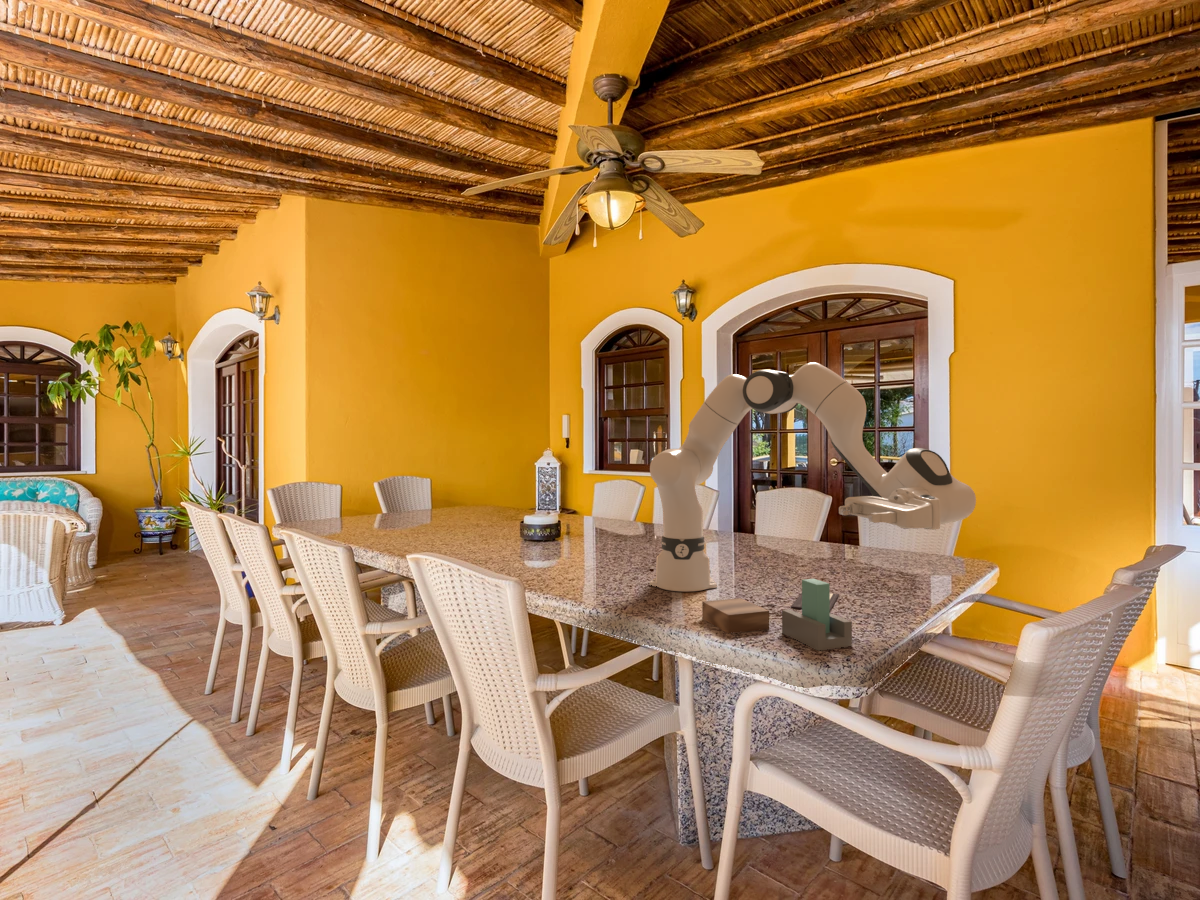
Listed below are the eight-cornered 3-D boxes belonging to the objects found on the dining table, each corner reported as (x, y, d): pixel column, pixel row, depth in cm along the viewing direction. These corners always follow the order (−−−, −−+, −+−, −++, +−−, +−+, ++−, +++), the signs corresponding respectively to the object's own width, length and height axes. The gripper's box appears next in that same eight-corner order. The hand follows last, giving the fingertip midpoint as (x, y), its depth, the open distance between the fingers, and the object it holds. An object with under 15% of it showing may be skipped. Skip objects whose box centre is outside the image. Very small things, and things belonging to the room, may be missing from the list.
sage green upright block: (801, 627, 133) (801, 579, 133) (814, 625, 134) (814, 578, 134) (817, 634, 128) (817, 584, 128) (829, 632, 129) (829, 583, 129)
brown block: (702, 618, 147) (702, 601, 147) (740, 614, 150) (740, 597, 150) (728, 633, 135) (728, 615, 135) (769, 629, 138) (769, 610, 138)
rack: (782, 633, 135) (782, 609, 135) (813, 629, 138) (813, 606, 138) (817, 650, 124) (817, 625, 124) (851, 646, 126) (851, 621, 126)
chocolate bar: (790, 606, 155) (803, 590, 171) (790, 610, 155) (803, 594, 171) (829, 610, 151) (838, 594, 167) (829, 614, 151) (838, 597, 167)
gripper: (874, 487, 148) (824, 493, 144) (945, 500, 129) (889, 506, 125) (875, 514, 149) (824, 520, 145) (946, 530, 129) (890, 538, 125)
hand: (855, 514), depth 135 cm, fingers open, 8 cm apart
